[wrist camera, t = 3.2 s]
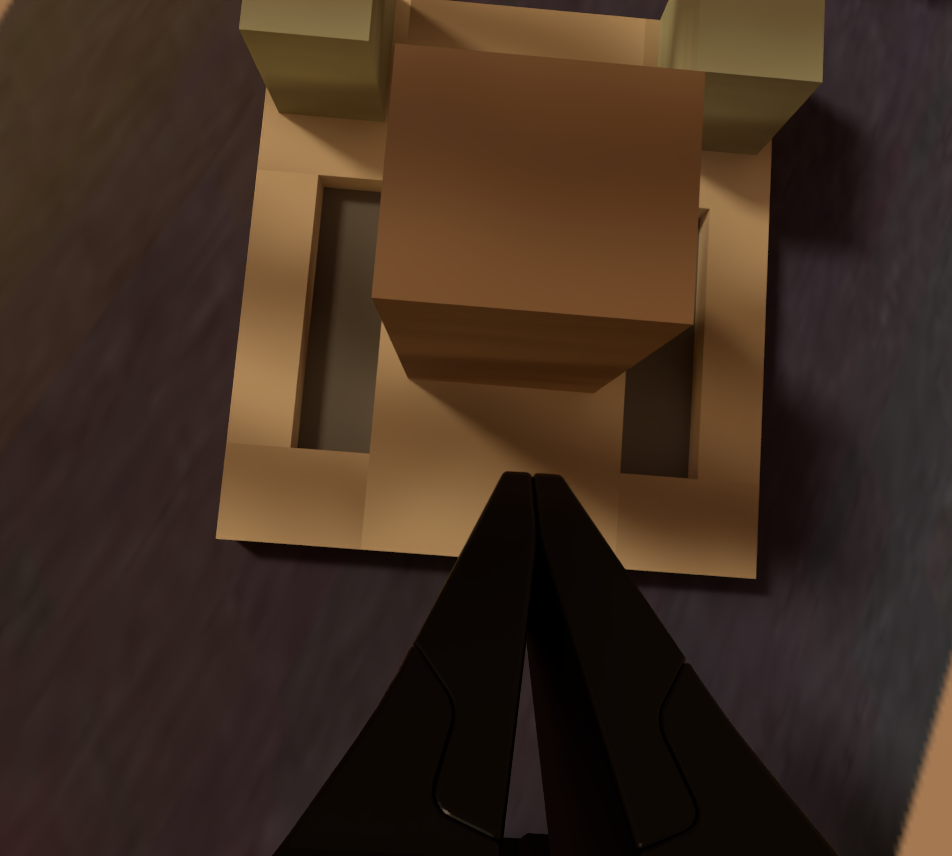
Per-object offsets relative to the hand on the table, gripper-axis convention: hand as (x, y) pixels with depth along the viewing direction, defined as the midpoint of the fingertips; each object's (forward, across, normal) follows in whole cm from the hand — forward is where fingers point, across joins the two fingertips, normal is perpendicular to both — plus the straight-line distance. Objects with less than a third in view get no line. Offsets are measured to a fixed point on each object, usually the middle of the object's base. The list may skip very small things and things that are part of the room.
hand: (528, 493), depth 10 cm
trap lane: (+14, 0, +4) cm, 14 cm away
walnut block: (+12, 0, +4) cm, 13 cm away
